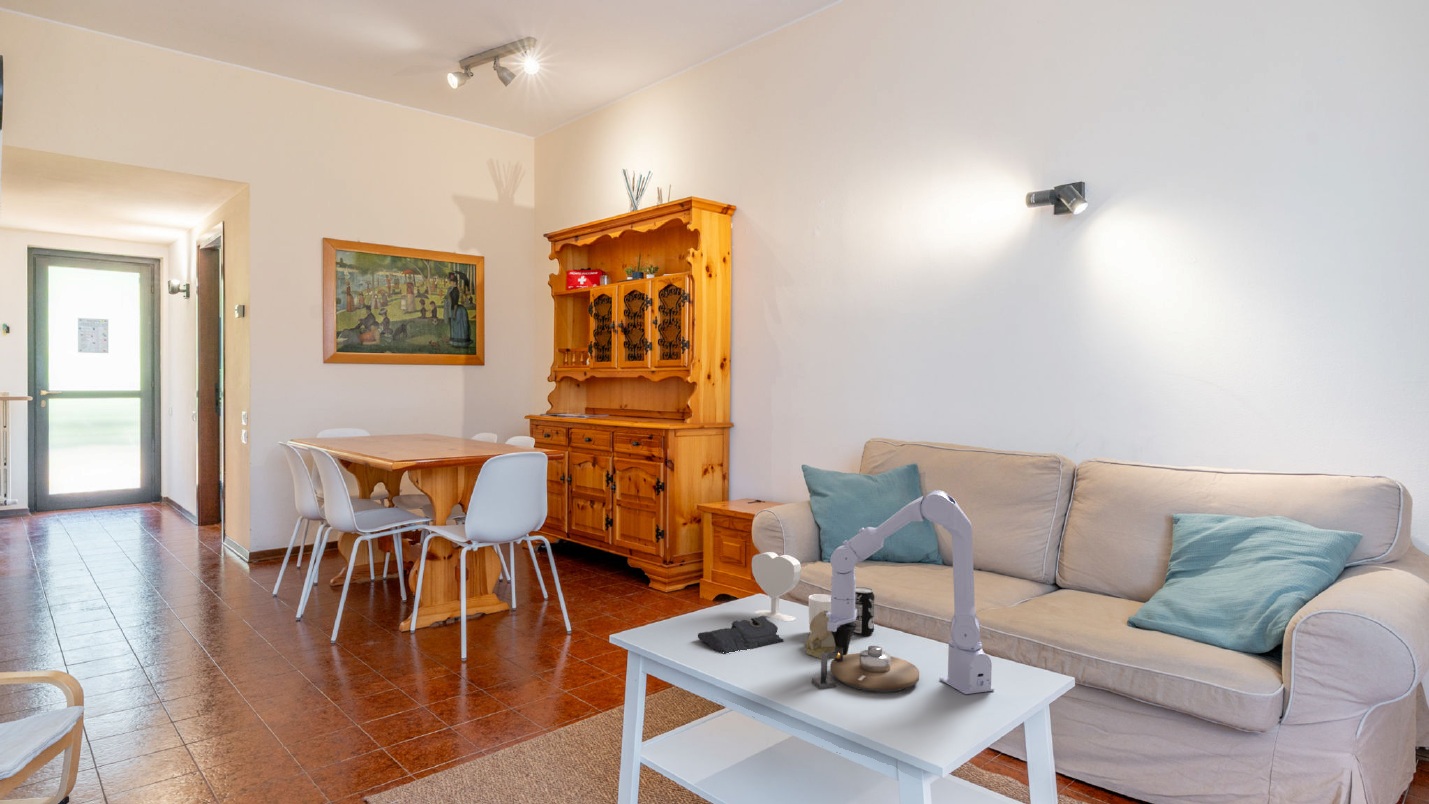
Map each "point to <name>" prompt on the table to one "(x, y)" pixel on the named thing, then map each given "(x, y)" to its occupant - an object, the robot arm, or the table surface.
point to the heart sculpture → (775, 579)
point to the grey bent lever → (825, 672)
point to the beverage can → (864, 611)
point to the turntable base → (874, 689)
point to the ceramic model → (820, 636)
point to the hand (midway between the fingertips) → (841, 654)
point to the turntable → (851, 673)
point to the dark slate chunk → (742, 635)
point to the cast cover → (874, 660)
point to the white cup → (818, 605)
